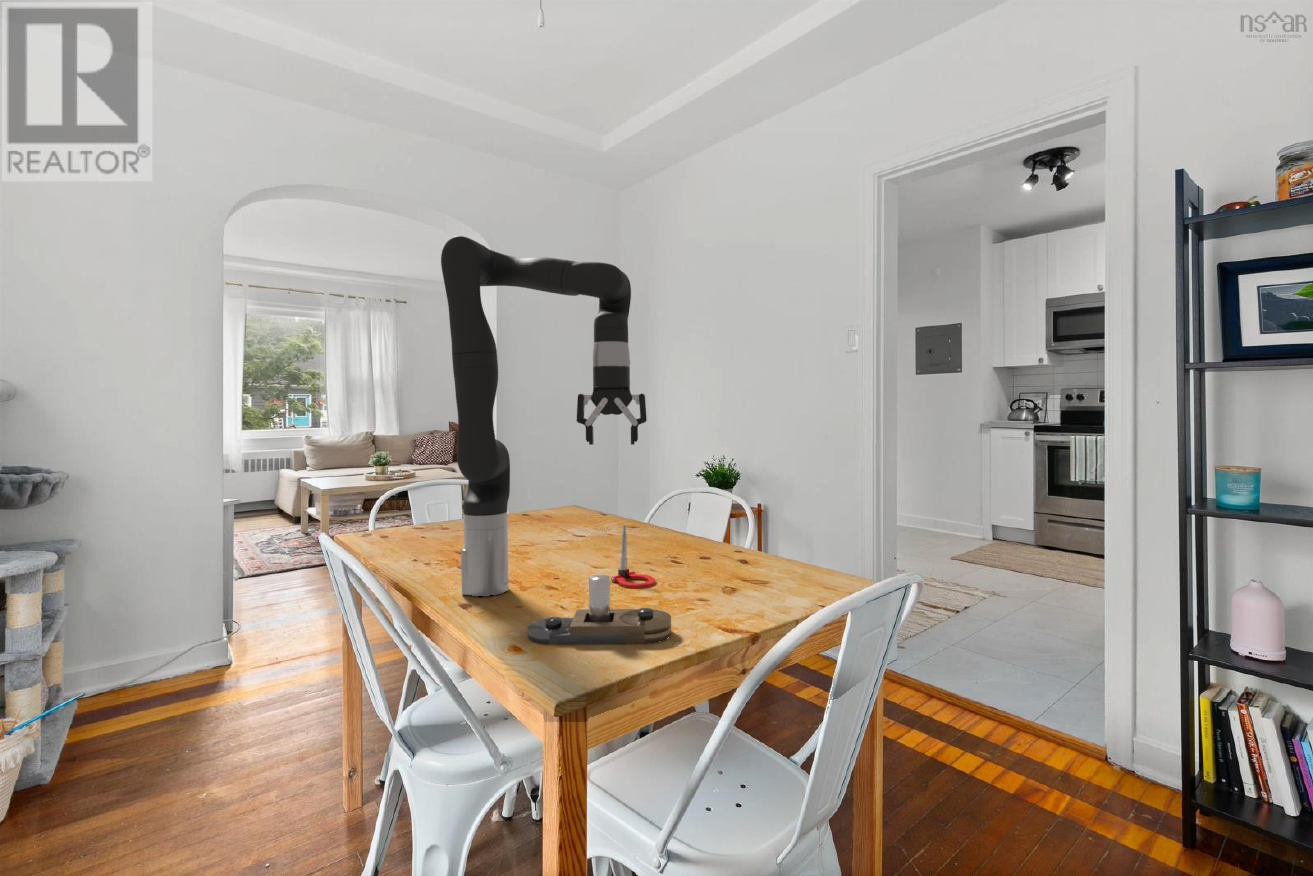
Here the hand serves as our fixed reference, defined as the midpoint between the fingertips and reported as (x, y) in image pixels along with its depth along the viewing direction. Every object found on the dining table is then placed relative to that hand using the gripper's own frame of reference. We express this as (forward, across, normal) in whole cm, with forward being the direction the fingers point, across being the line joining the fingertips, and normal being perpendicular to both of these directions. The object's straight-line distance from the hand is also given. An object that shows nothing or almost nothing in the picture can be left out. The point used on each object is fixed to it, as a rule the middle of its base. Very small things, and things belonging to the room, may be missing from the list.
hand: (612, 444), depth 129 cm
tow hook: (+32, +4, +12) cm, 35 cm away
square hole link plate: (+32, -1, -21) cm, 38 cm away
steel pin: (+32, -1, -21) cm, 38 cm away
